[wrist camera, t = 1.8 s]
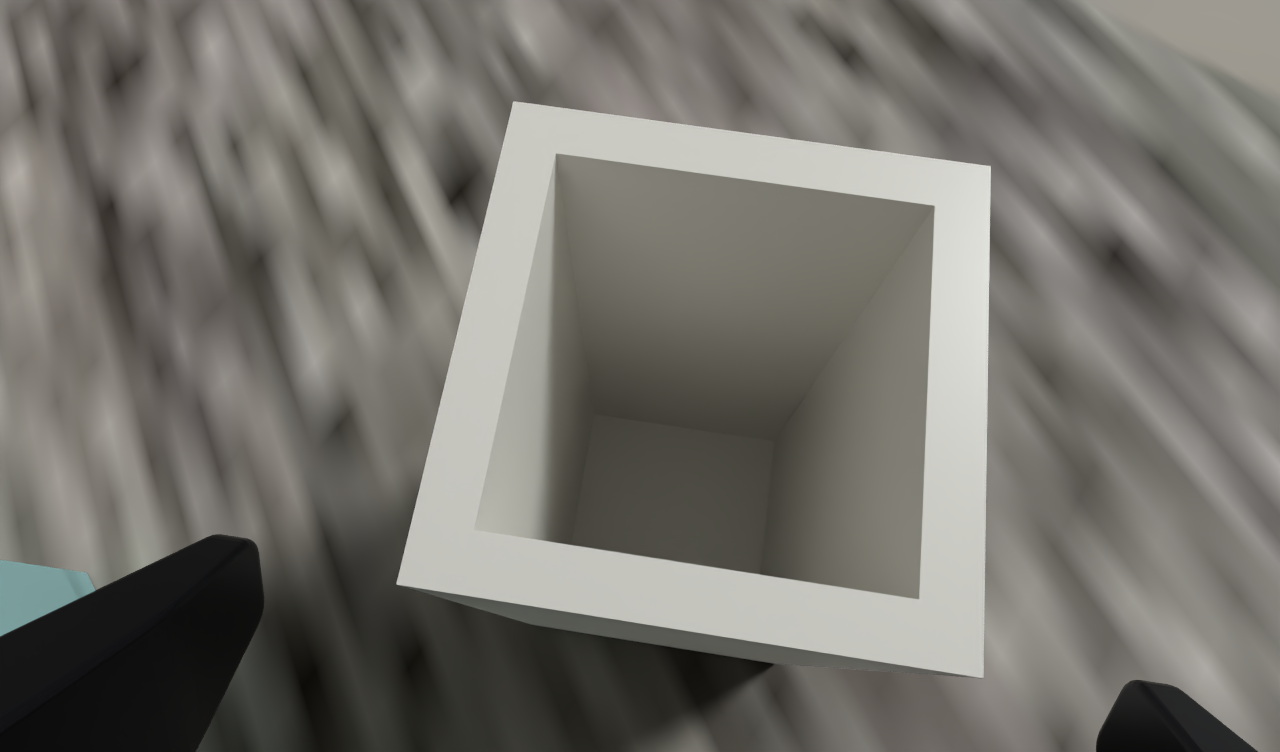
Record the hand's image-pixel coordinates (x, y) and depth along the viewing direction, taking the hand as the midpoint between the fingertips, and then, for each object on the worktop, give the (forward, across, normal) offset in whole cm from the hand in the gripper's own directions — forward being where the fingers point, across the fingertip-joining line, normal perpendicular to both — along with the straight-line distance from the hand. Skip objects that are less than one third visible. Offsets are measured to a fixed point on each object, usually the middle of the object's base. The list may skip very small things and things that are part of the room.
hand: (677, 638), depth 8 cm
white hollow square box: (+9, 0, +5) cm, 10 cm away
